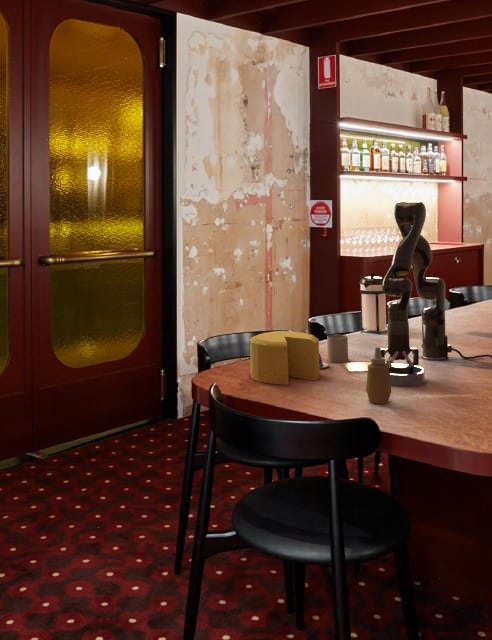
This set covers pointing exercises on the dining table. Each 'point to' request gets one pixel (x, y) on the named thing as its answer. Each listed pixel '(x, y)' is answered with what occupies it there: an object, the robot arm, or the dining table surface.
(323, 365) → the pudding
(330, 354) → the cup
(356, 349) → the dining table surface
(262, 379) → the cheese
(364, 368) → the board
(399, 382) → the bowl
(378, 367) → the squeeze bottle
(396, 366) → the mushroom
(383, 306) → the coffee press
